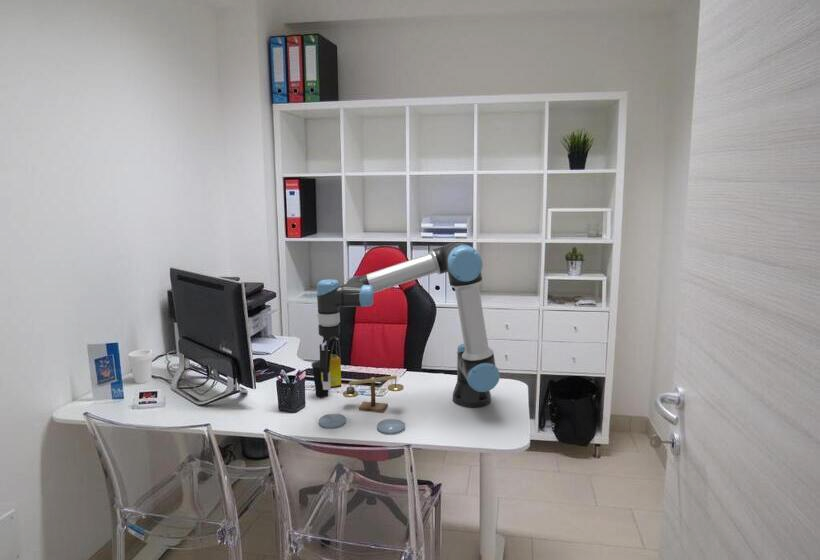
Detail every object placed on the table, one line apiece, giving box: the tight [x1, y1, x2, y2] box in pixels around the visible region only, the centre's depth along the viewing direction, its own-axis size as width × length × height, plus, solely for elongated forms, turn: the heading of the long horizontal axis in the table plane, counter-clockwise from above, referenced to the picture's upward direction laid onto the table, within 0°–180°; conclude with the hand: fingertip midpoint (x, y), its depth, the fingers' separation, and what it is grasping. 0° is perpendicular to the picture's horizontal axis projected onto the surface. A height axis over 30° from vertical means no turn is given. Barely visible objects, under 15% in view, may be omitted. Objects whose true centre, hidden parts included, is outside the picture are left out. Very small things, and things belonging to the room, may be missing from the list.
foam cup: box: [128, 349, 154, 385], centre depth 252 cm, size 10×9×13 cm
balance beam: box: [342, 375, 405, 398], centre depth 221 cm, size 24×6×9 cm, turn 77°
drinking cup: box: [311, 359, 329, 399], centre depth 234 cm, size 8×8×20 cm
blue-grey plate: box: [376, 418, 406, 435], centre depth 206 cm, size 10×10×1 cm
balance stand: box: [357, 382, 389, 414], centre depth 222 cm, size 10×6×11 cm, turn 77°
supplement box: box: [321, 354, 342, 390], centre depth 207 cm, size 6×6×11 cm
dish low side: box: [318, 413, 347, 430], centre depth 211 cm, size 10×10×1 cm
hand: (331, 384), depth 208 cm, fingers closed on supplement box, 8 cm apart
